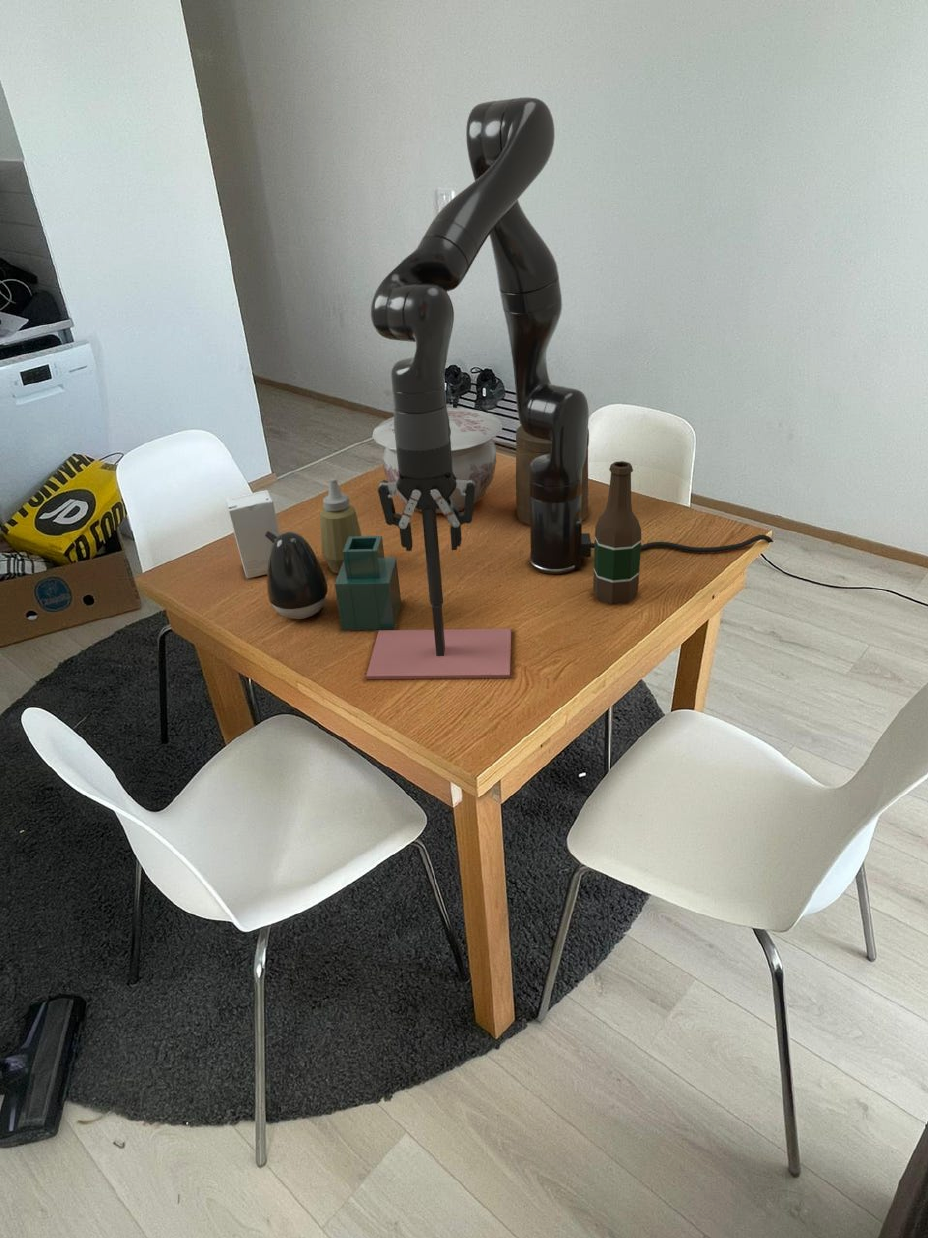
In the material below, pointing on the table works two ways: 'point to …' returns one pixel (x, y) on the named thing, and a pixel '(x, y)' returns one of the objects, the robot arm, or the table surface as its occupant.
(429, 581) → the stepped grey rod
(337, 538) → the squeeze bottle
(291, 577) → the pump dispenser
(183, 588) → the table surface
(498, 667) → the place mat
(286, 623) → the table surface
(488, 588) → the table surface
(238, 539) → the cosmetic box
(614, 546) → the beer bottle
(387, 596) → the green square vase
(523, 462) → the wooden container
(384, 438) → the chamber pot
